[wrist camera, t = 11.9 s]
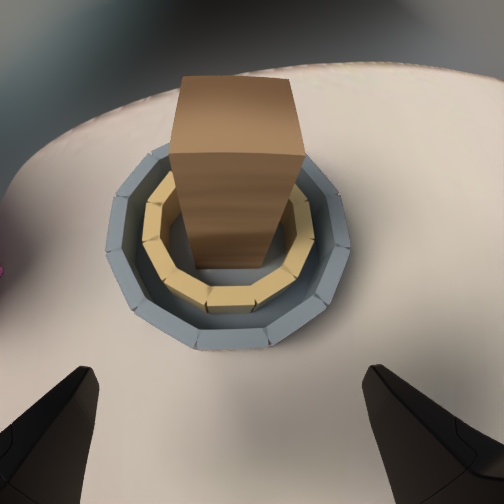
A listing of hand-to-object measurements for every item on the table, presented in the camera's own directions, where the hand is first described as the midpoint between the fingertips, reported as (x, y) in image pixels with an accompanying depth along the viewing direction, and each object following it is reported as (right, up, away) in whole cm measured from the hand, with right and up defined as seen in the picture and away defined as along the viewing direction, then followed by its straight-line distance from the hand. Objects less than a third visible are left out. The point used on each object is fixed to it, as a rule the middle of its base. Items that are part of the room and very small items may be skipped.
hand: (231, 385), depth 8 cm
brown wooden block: (-1, +5, +11) cm, 12 cm away
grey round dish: (-1, +5, +11) cm, 12 cm away
